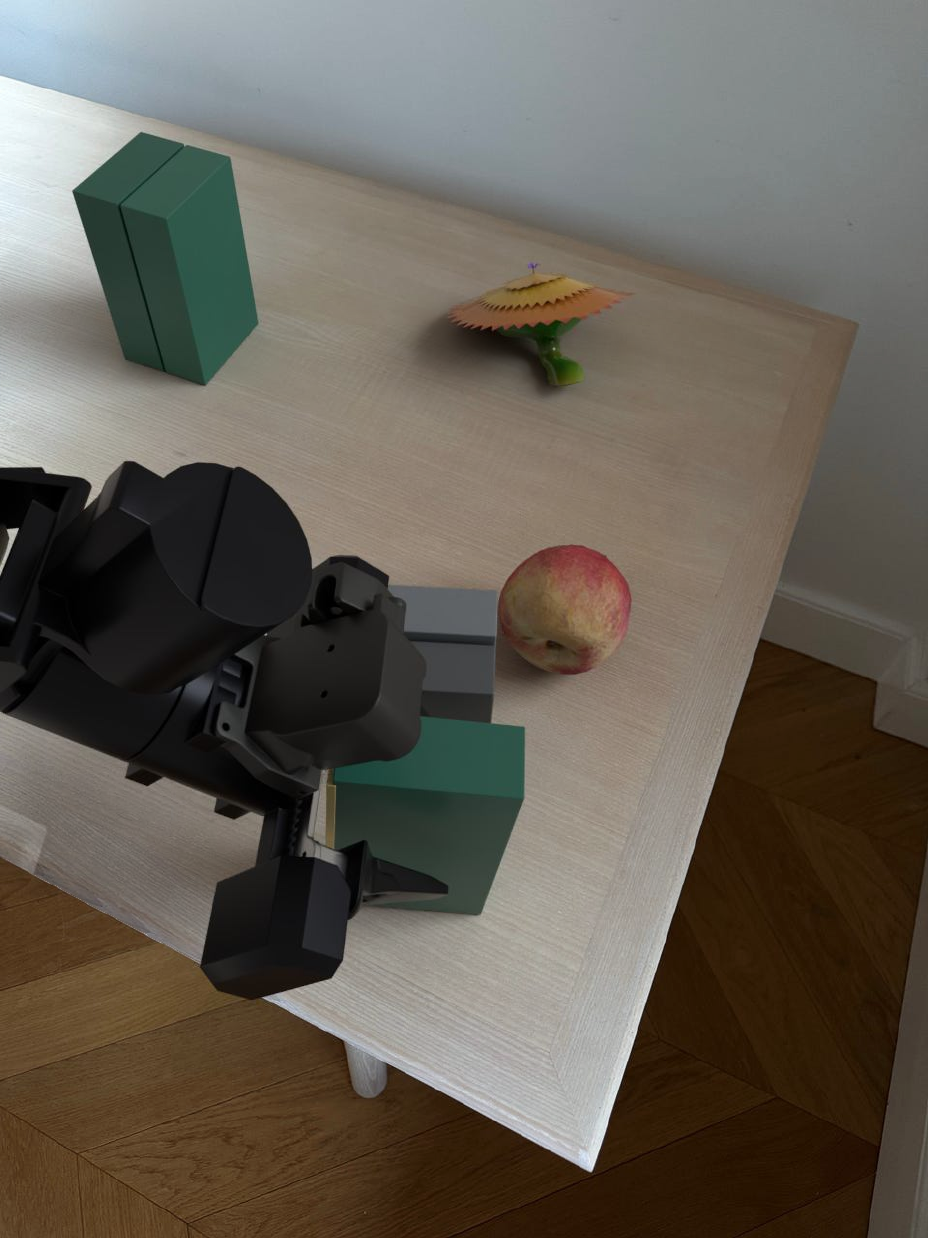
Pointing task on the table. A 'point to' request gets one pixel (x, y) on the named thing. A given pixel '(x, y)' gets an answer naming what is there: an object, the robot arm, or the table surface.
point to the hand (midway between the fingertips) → (447, 822)
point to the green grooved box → (170, 254)
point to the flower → (540, 315)
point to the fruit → (565, 609)
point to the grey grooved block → (453, 648)
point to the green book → (436, 807)
